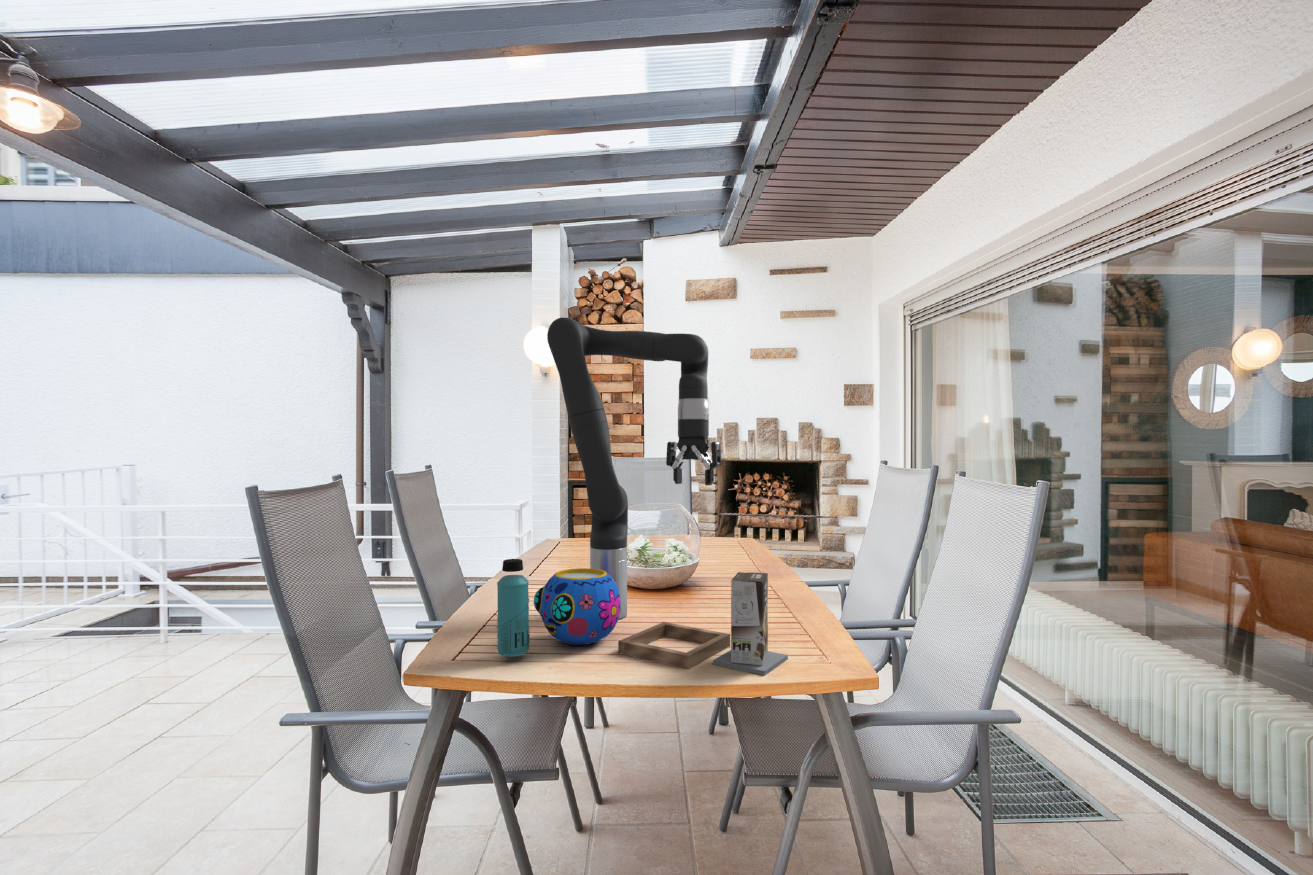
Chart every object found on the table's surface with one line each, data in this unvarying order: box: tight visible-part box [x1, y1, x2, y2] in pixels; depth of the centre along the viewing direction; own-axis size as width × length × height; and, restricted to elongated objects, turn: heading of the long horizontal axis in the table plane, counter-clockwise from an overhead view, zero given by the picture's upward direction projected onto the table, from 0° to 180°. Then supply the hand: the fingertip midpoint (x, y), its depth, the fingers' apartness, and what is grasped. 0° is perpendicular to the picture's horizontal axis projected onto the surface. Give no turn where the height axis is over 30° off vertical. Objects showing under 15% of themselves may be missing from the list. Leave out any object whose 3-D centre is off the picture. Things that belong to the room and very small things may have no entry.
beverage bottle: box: [496, 558, 531, 657], centre depth 131 cm, size 6×7×20 cm
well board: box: [617, 621, 731, 670], centre depth 137 cm, size 17×17×2 cm
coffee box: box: [730, 571, 769, 666], centre depth 130 cm, size 9×6×16 cm
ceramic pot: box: [533, 567, 621, 646], centre depth 142 cm, size 18×18×15 cm
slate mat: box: [712, 649, 789, 676], centre depth 129 cm, size 11×11×1 cm
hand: (693, 484), depth 159 cm, fingers open, 8 cm apart
